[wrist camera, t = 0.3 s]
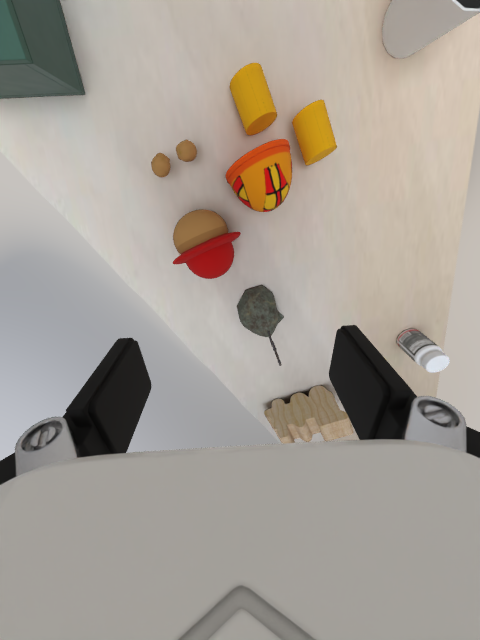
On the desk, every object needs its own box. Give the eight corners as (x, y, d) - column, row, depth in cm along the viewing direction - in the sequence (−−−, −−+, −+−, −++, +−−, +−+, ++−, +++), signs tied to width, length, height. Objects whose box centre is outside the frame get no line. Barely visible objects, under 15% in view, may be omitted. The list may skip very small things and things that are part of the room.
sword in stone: (226, 300, 43) (224, 337, 33) (264, 278, 42) (274, 311, 31) (253, 338, 48) (258, 381, 38) (288, 320, 46) (304, 360, 36)
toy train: (262, 402, 58) (268, 441, 49) (331, 381, 55) (350, 418, 46) (270, 416, 60) (276, 455, 52) (336, 396, 57) (355, 434, 49)
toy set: (139, 166, 36) (196, 284, 41) (93, 133, 25) (177, 297, 30) (297, 79, 32) (339, 221, 37) (319, -2, 21) (373, 211, 26)
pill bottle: (418, 343, 50) (450, 371, 43) (395, 349, 50) (422, 376, 43) (421, 325, 48) (454, 351, 40) (396, 331, 48) (425, 357, 41)
